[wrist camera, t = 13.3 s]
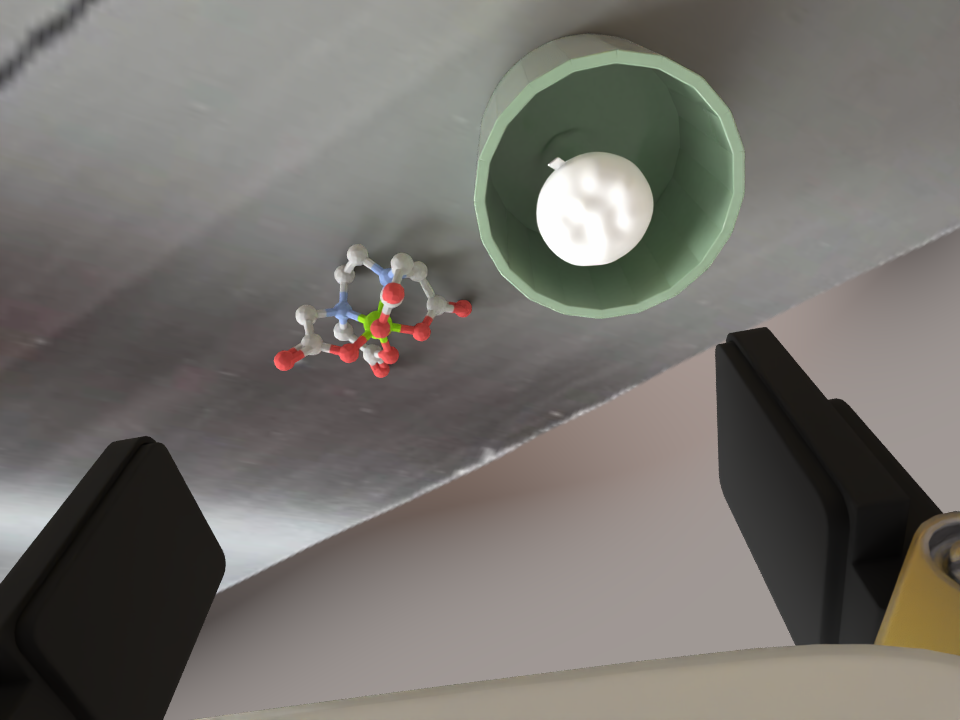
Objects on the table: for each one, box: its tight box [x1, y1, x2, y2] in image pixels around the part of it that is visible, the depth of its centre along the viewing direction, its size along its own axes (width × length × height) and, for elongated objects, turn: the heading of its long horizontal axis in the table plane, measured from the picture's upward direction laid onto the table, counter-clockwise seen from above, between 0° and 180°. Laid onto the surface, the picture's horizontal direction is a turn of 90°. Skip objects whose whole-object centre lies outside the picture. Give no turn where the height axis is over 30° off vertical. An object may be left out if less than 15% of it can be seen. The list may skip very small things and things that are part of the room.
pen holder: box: [474, 33, 745, 319], centre depth 30 cm, size 10×10×9 cm
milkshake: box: [536, 130, 653, 266], centre depth 29 cm, size 4×5×10 cm
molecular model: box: [274, 244, 472, 378], centre depth 35 cm, size 7×8×7 cm
